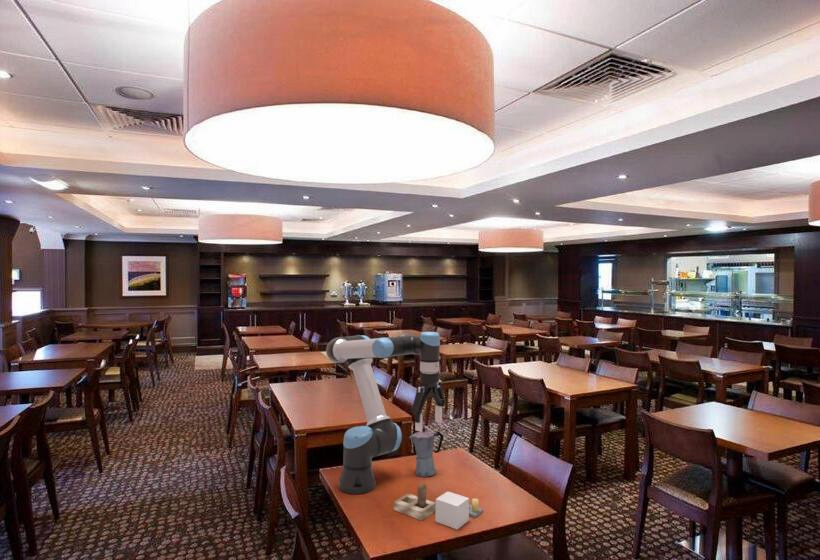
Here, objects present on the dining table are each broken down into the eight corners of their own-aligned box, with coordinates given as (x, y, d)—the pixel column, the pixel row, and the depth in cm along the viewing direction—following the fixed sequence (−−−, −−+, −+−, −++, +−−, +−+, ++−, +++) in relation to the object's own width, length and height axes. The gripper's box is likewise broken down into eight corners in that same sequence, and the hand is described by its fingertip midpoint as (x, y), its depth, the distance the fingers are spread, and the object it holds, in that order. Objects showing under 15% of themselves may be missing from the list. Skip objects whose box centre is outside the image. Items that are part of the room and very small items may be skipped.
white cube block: (435, 521, 171) (435, 499, 171) (447, 512, 178) (447, 491, 178) (457, 529, 166) (457, 506, 166) (468, 520, 172) (469, 498, 172)
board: (458, 512, 178) (458, 498, 178) (466, 506, 183) (466, 493, 183) (475, 517, 174) (475, 504, 174) (483, 511, 179) (483, 498, 179)
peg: (415, 513, 177) (416, 486, 177) (420, 510, 179) (420, 483, 179) (422, 516, 175) (423, 488, 175) (427, 512, 178) (428, 485, 178)
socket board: (393, 509, 179) (393, 501, 179) (408, 501, 187) (408, 493, 187) (422, 520, 172) (422, 512, 172) (436, 511, 179) (436, 503, 179)
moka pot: (406, 470, 216) (407, 426, 216) (438, 467, 221) (439, 423, 221) (412, 479, 207) (413, 432, 207) (446, 475, 212) (446, 429, 212)
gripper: (418, 378, 175) (417, 436, 175) (454, 368, 195) (453, 420, 195) (402, 375, 180) (401, 432, 180) (439, 366, 200) (438, 417, 200)
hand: (428, 426), depth 188 cm, fingers open, 13 cm apart
